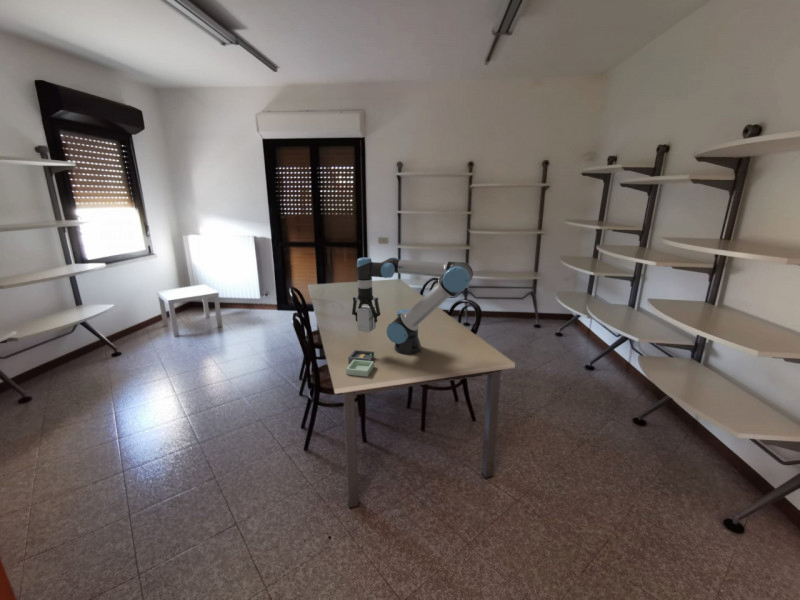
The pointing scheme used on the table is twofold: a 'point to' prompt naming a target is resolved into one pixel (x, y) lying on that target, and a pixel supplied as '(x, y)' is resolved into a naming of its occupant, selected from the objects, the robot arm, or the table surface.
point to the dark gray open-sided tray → (361, 355)
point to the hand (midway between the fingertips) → (366, 327)
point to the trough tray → (360, 368)
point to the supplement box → (365, 319)
